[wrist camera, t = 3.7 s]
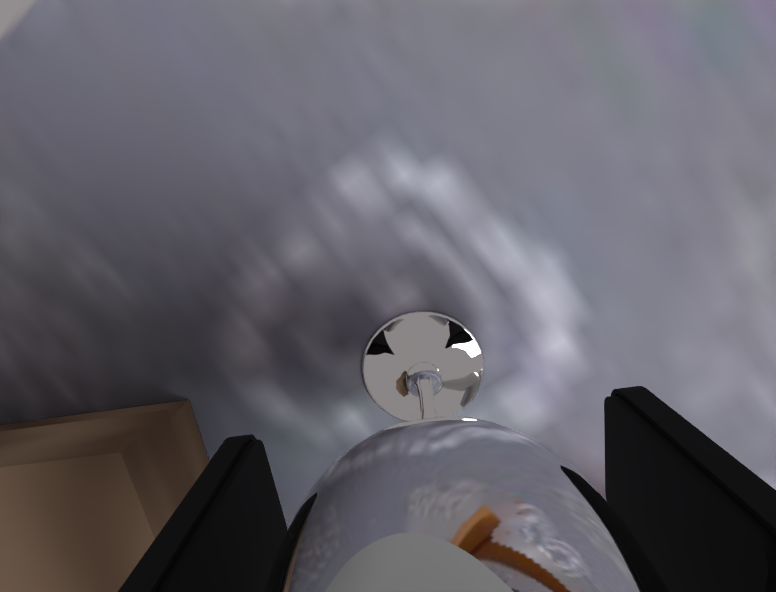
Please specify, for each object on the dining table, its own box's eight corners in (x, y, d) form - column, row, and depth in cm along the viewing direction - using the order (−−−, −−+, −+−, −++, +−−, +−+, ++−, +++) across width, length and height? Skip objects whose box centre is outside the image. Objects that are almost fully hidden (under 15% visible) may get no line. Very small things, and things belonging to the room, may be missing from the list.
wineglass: (534, 377, 14) (1255, 1356, 2) (413, 462, 15) (462, 1417, 3) (433, 258, 13) (784, 918, 1) (311, 360, 14) (-141, 1219, 2)
